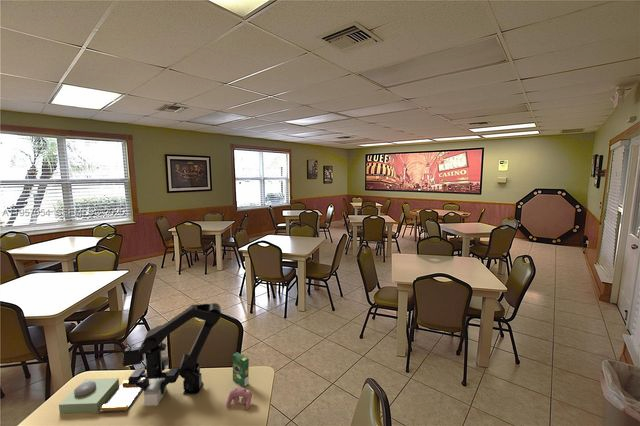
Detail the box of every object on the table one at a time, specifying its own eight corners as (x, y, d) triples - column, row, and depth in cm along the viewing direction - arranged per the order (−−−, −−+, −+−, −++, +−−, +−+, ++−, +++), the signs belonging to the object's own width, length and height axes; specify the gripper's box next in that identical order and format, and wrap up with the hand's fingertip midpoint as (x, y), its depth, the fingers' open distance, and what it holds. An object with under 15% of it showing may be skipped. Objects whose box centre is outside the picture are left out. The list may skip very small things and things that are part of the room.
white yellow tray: (145, 384, 129) (145, 379, 129) (125, 412, 114) (125, 406, 114) (122, 385, 128) (121, 380, 128) (99, 413, 113) (98, 407, 113)
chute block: (166, 389, 127) (166, 376, 126) (157, 405, 118) (156, 392, 117) (154, 389, 126) (154, 377, 126) (144, 406, 117) (143, 392, 117)
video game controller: (251, 407, 120) (254, 388, 122) (248, 410, 116) (250, 390, 118) (228, 405, 121) (231, 386, 123) (224, 408, 116) (227, 388, 119)
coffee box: (249, 384, 131) (249, 357, 129) (244, 388, 128) (244, 360, 126) (237, 377, 135) (236, 351, 133) (232, 380, 133) (231, 354, 131)
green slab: (119, 386, 128) (118, 375, 127) (97, 412, 114) (96, 399, 113) (85, 387, 126) (84, 376, 126) (59, 413, 113) (58, 401, 112)
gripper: (184, 348, 129) (186, 380, 131) (140, 349, 127) (143, 381, 129) (173, 364, 118) (175, 399, 120) (126, 366, 116) (128, 400, 118)
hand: (156, 394), depth 122 cm, fingers open, 6 cm apart
